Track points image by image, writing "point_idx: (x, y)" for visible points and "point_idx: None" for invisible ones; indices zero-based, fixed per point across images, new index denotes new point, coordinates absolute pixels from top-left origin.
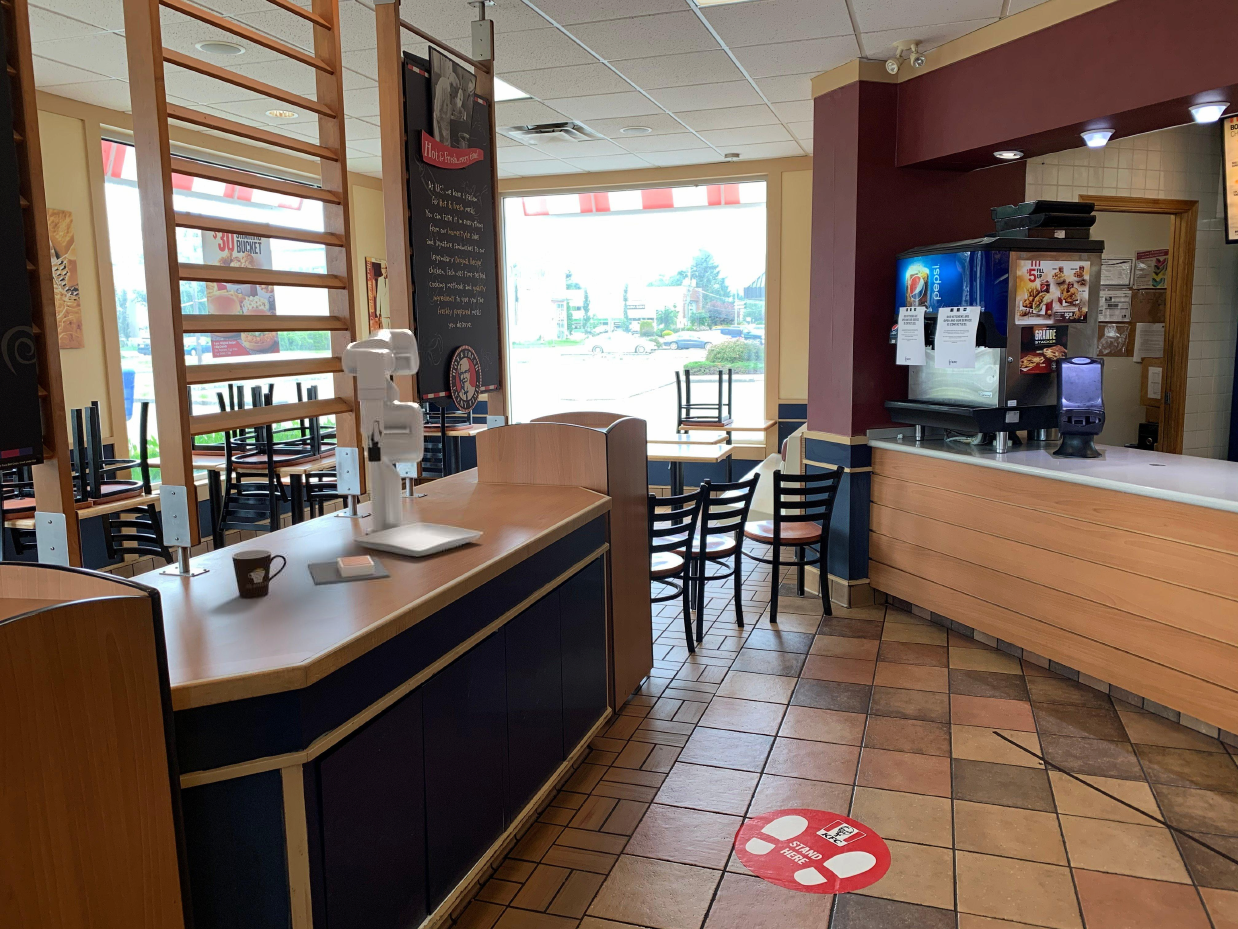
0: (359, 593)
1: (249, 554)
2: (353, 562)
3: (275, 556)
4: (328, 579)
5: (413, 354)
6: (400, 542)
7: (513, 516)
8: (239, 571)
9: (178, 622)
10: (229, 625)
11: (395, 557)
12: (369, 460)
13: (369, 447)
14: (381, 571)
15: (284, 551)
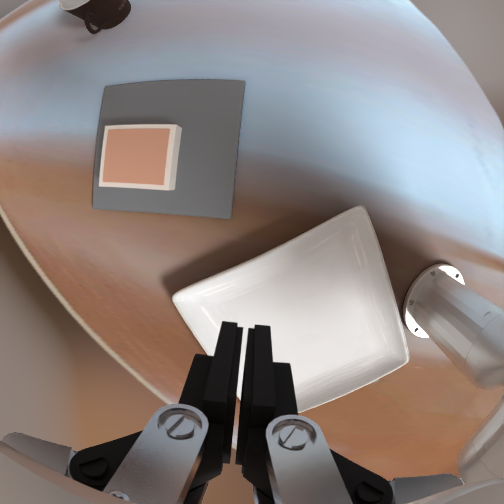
0: (43, 149)
1: None
2: (121, 149)
3: (85, 15)
4: (111, 105)
5: None
6: (337, 300)
7: (384, 458)
8: None
9: None
10: (34, 22)
11: (227, 258)
12: (222, 325)
13: (221, 410)
14: (115, 200)
15: (391, 80)
